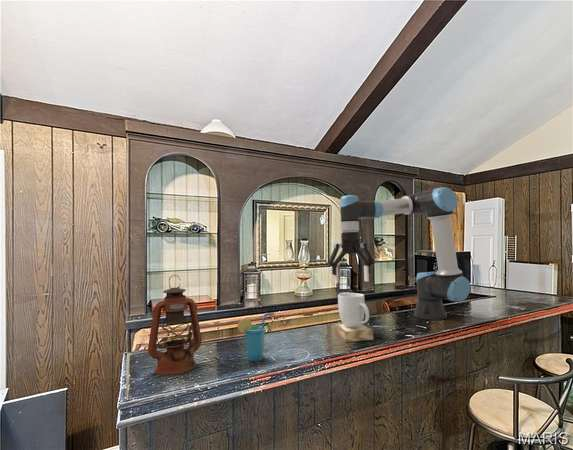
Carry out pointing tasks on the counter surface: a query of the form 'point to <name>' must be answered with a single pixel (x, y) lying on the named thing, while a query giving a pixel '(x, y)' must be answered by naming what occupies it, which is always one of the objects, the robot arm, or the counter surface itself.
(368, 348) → the counter surface
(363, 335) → the pedestal
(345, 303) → the mug
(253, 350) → the cup
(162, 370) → the lantern
